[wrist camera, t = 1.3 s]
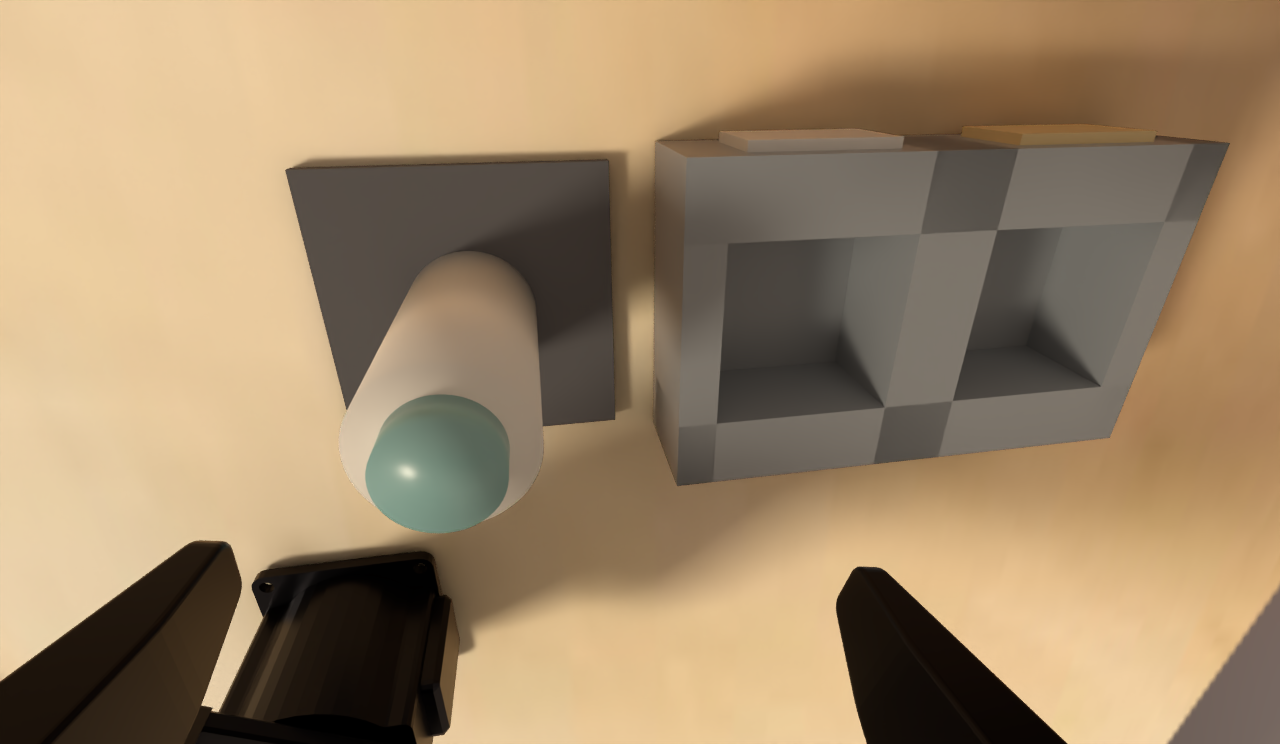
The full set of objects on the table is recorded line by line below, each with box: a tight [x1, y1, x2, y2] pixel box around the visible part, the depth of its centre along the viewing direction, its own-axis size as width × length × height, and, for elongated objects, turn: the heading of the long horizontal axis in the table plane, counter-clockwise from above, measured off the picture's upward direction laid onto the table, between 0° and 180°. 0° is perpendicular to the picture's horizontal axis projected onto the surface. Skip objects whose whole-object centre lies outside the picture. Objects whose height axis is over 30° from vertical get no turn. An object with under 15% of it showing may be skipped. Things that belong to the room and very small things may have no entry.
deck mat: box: [285, 159, 615, 426], centre depth 20 cm, size 9×9×1 cm
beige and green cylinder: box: [339, 251, 544, 533], centre depth 15 cm, size 4×4×9 cm
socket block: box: [653, 124, 1230, 486], centre depth 20 cm, size 16×10×4 cm, turn 89°
